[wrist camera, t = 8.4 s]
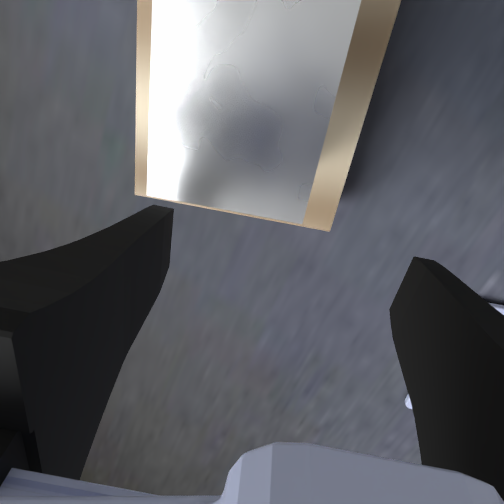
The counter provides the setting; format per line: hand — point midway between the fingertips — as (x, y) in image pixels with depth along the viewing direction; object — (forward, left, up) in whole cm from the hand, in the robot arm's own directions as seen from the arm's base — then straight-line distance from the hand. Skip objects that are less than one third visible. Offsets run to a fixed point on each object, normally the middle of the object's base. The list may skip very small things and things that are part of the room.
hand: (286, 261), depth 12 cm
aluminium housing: (+5, +2, -6) cm, 8 cm away
